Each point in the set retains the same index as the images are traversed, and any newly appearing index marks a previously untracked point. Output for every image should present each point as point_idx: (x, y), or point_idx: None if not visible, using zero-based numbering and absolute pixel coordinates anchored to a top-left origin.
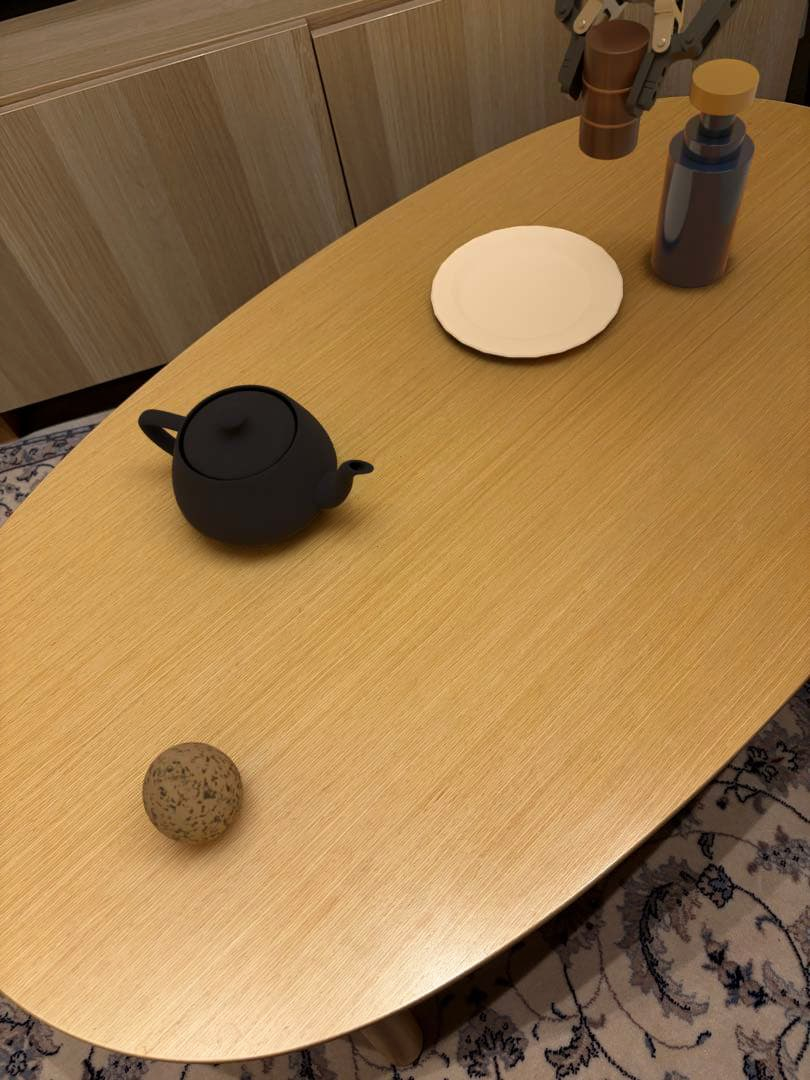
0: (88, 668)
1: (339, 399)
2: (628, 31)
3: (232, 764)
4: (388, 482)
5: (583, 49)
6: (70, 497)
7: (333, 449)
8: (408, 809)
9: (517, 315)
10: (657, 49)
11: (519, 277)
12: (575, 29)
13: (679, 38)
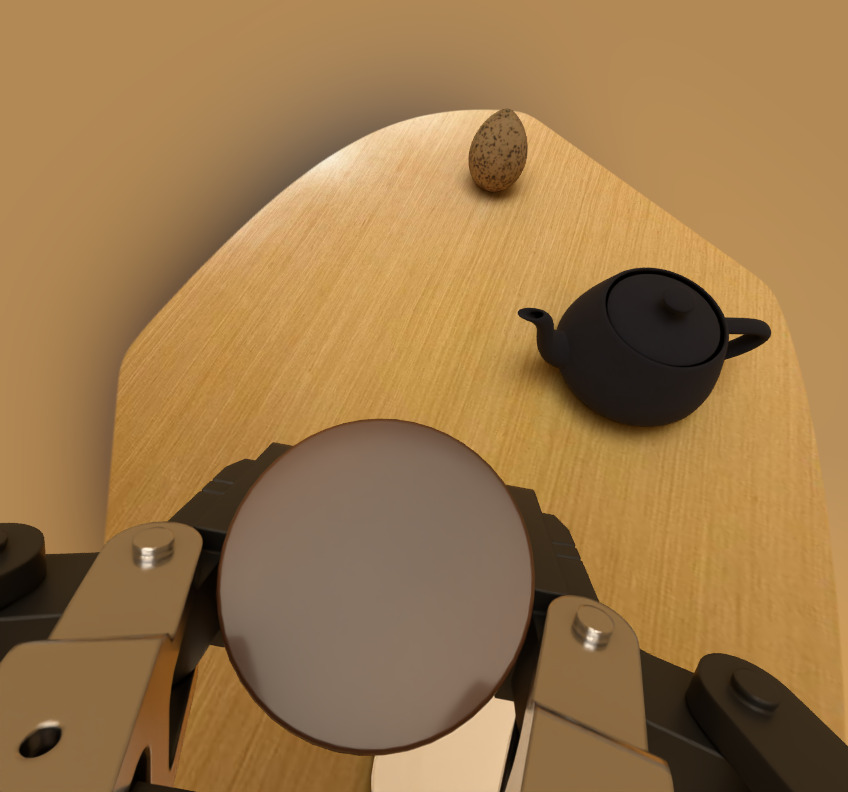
0: (623, 226)
1: (633, 497)
2: (336, 616)
3: (484, 164)
4: (522, 417)
5: None
6: None
7: (583, 386)
8: (379, 212)
9: (511, 717)
10: (176, 530)
11: None
12: (606, 612)
13: (50, 596)
